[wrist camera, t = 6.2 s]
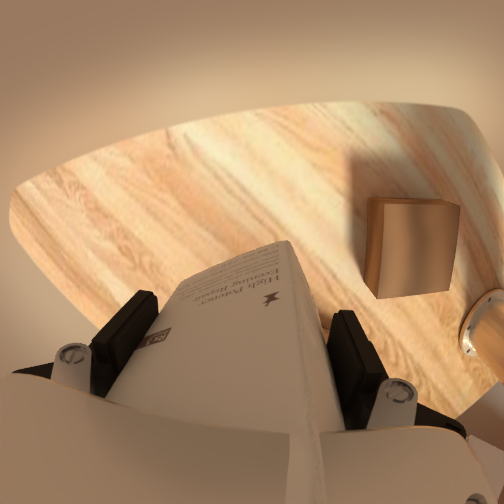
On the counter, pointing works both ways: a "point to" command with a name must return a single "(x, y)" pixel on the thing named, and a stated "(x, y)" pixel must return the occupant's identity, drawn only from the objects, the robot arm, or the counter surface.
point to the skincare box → (243, 360)
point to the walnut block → (410, 246)
